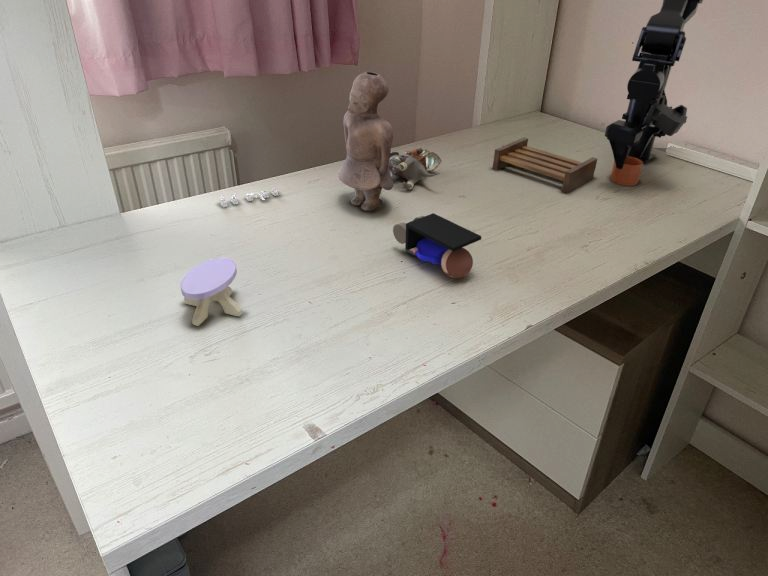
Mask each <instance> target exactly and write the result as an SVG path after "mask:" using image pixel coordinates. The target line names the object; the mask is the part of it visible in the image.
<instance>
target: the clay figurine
mask: <svg viewBox="0 0 768 576" xmlns="http://www.w3.org/2000/svg"><path fill="white" fill-rule="evenodd" d="M388 93H389V84H388V82H387V80H386V79H385V78H384V77H383V76H382V75H381V74H379V73H377V72H374V71H365V72H362V73H360V74H358V75H357V76H356V77H355V78H354V80H353V82H352V87H351V90H350V92H349V99H348V100H349V103H348V107H347V111H346V112H345V113H344V116H343V121H342V122H343V130H344V131H343V133H344V140H345V148H346V158H345V159H344V162H343V163H342V165H341V166H340V168H339V170H338V172H337V175H338V179H339V181H340V182H341V183H342V184H344V186H345V185H346V186H348V187H349V188H352V189H354V193H355V194H354V196H353V198H352V199H351V201H350V202H351V204H352V205H353V206H360V208H361V210H363V211H368V212H371V211H374V210H375V209H377V208H378V207H381V206H382V205H383V204H384V200H383V199H382V198H380V197H381V193H382V189H383V190H385V191H391V190H393V187H394V181H392V178H391V175H390V171H389V168H388V165H389V160H390V153H391V152H392V145H393V140H394V130H393V127H392V125H391V123H390V122H388V121H387V120H386V119H384V118H383V117H381V116H380V115H379V114H378V105H379V104H380V103H381V102H382V101H383V100H385V98H386V97H387V96H388Z"/></svg>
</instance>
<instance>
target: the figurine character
mask: <svg viewBox="0 0 768 576" xmlns="http://www.w3.org/2000/svg"><path fill="white" fill-rule="evenodd" d="M393 225H394V226H393V227H392V233H393V236H394V238H395V240H396V241H397V242H398V244H401V245H404V244H405V245H404V250H405V252H406V253H408V254H410V255H411V256H414V257H417V258H418V259H419V260H420V261H425V262H430V263H432V265H440V266H441V270H442V271H443V272H444V274H445V275H447V276H448V277H450V278H453V279H461V278H463V277H465V276H467V275H468V274H469V273H470V272H471V271H472V269H473V265H474V259H473V256H472V254H471V252H470V251H468V249H466V248H465V247H467V246H470V245H471V244H474V243H477V242H479V241H481V240H482V235H481V234H477V233H476V232H473V231H472V230H469V229H468V228H465V227H464V226H461V225H459V224H458V223H455V222H452V221H450V220H448V219H447V218H445V217H443V216H440V215H438V214H436V213H434V212H433V213H430V214H427V215H420V216H416V217H415V218H413V220H411V221H409V222H403V221H402V222H399V223H396V224H393Z"/></svg>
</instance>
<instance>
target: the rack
mask: <svg viewBox="0 0 768 576" xmlns="http://www.w3.org/2000/svg"><path fill="white" fill-rule="evenodd" d="M528 142H529V138H528V137H520V138H519V139H517V140H515V141H512V142H509V143H507V144H505V145H503V146H500V147H498V148H496V149H494V154H493V160H492V161H493V162H492V168H491V169H492V170H495V171H498V170H500V169H503V168H505V167H507V166H509V165H512V166H516V167H520V168H523V169H526V170H529V171H532V172H535V173H538V174H541V175H545V176H547V177H551V178H554V179H556V180H559V181H562V187H561V193H562V194H563V193H564V194H568V193H570V192H572V191H574V190H575V189H577V188H578V187H580V186H582V185H585V184H586V183H587V182H589V181H591V180H592V179H594V176H595V171H596V167H597V164H598V163H597V162H598V158H597V157H593V156H592V157H590V158H588V159H587V160H584V161H583V162H582V161H579V160H576V159H572V158H569V157H565V156H562V155H558V154H555V153H552V152H549V151H547V150H542V149H538V148H535V147H532V146H529V145H528Z"/></svg>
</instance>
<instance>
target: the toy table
mask: <svg viewBox="0 0 768 576" xmlns="http://www.w3.org/2000/svg"><path fill="white" fill-rule="evenodd" d="M237 274H238V270H237V264H236V262H235V261H234V259H232V258H230V257H222V256H221V257H214V258H211V259H207V260H205V261H203V262H200V263H199V264H197V265H195V266H193V268H191V269H189V270H188V271H187V272H186V273H185V275H184V276H183V277H182V279H181V281H180V291H181V295H182V296H183V297H184V298H183V301H184V304H186V305H189V306H192V307H193V306H194V307H195V310H194V313H193V316H192V319H191V323H192V325H194V326H197V327H199V326H200V325H201V324H202V323H204V322H205V320H207V319H208V318H209V307H210V304H211V302H214V301H217V302H218V303H219V304H220V306H221V307H222V309H223V313H224V314H226V315H231V316H234V317H240V316H242V314H243V310H242V308H241V306H240V305H239V304H238V303H237V302H236V301H234V299H233V298H232V297H231V295H232V293H233V290H232V287H231V286H230V285H231V284H232V283H233V281H234V280H235V278H236V276H237Z"/></svg>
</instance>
